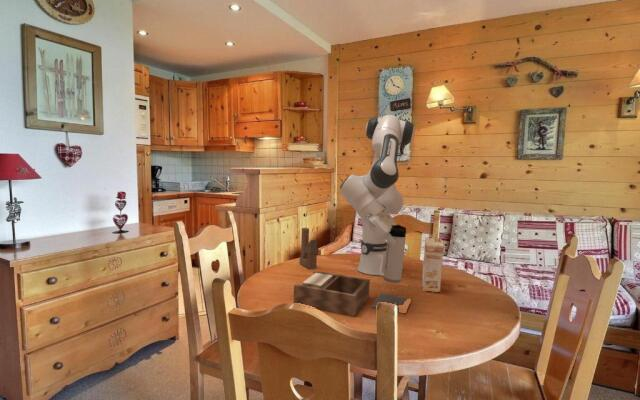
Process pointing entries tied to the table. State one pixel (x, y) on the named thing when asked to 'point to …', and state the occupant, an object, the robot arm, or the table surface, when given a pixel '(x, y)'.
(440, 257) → the coffeecake box
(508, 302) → the table surface
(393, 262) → the travel mug
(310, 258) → the brown wooden handled piece
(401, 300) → the rubber mat
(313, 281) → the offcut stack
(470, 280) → the table surface
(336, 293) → the walnut rack
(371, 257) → the robot arm
